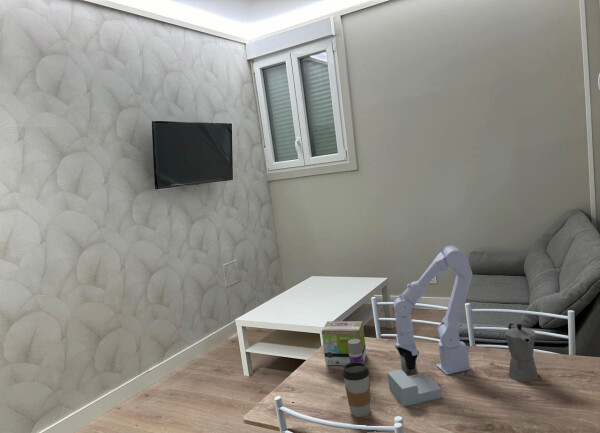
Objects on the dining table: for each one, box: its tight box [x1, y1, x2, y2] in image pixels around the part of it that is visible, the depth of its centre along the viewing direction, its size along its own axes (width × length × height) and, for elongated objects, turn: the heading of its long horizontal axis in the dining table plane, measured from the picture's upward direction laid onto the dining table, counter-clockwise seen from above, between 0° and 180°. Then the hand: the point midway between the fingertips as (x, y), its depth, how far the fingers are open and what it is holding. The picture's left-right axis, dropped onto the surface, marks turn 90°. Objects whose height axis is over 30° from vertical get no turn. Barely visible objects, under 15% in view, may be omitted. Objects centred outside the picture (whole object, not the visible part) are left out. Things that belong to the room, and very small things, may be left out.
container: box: [348, 339, 363, 363], centre depth 164 cm, size 5×5×15 cm
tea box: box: [321, 320, 367, 366], centre depth 182 cm, size 15×10×15 cm
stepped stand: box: [387, 369, 443, 407], centre depth 151 cm, size 13×12×6 cm
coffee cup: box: [342, 362, 372, 418], centre depth 144 cm, size 8×8×15 cm
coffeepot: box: [505, 322, 539, 383], centre depth 154 cm, size 15×9×18 cm, turn 176°
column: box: [399, 354, 418, 375], centre depth 167 cm, size 4×4×6 cm
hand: (408, 366), depth 167 cm, fingers closed on column, 4 cm apart
